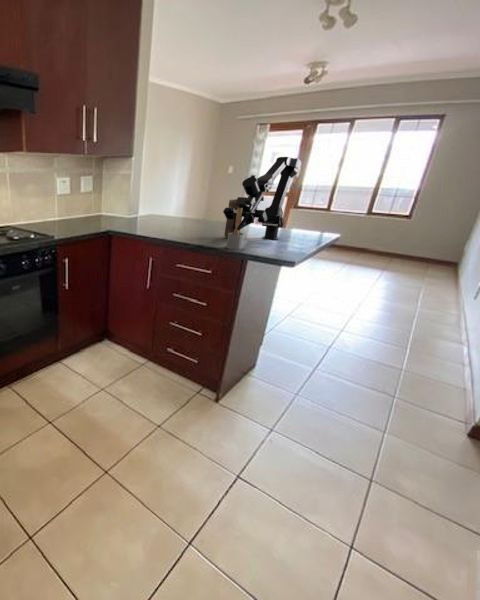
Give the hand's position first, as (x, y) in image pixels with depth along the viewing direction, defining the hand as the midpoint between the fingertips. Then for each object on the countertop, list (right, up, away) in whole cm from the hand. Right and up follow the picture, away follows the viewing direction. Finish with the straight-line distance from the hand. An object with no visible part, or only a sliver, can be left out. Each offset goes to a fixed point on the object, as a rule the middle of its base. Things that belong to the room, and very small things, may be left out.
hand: (235, 229), depth 151 cm
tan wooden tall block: (+10, 0, +25) cm, 27 cm away
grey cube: (+1, -8, +4) cm, 9 cm away
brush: (+1, -8, +4) cm, 9 cm away
